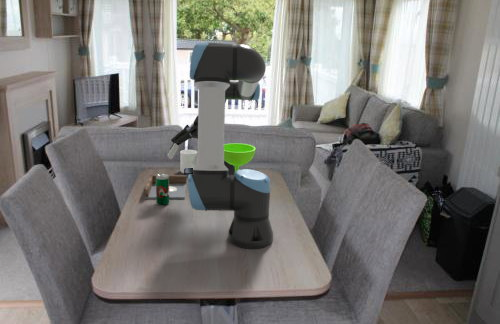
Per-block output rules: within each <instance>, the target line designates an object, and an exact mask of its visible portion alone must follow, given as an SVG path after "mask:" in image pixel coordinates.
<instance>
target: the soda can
mask: <svg viewBox="0 0 500 324" xmlns="http://www.w3.org/2000/svg"><path fill="white" fill-rule="evenodd" d="M156 175H157V177H156V199H155V200H156V204H157V205H158V206H167V205H169V203H170V199H169V177H168V175H169V174H167V173H157V174H156Z"/></svg>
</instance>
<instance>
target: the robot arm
mask: <svg viewBox="0 0 500 324" xmlns="http://www.w3.org/2000/svg"><path fill="white" fill-rule="evenodd" d="M266 68H267V67H266V62H265V59H264V58H263V56H262V55H261V53H259V52H258V51H257V50H255V49H254V48H252V46H250V45H246V44H242V43H223V42H221V43H220V42H198V43H196V44H195V45H194V46H193V49H192V52H191V58H190V65H189V79H190V80H192V81H193V86H195V87H196V89H197V90H198V108H197V109H198V111H197V112H198V113H197V115H196V117H195V119H194V120H193V123H192V126H190V125H189V124H186V125H185V126H184V128H182V129H181V130H180V131H179V132H178V133H177V134H176V135H174V136H173V137H171V139H170V142H172V144H171V146H170V149H169V151H168V153H167V155H166V157H168V159H169V160H172V159H173V157H174V156H175V154H176V153H177V151H178V149H179V147H180V146H179V145H182V144H183V143H184V142H187V141H188V140H190V139H197V150H196V151H197V153H196V155H195V157H194V158H193V160H192V163H193V164H194V165H195V167H194V168H193V174H187V187H188V195H189V196H188V197H189V204H190V206H191V208H192V209H193V210H195V211H205V212H207V211H228V212H229V211H233V218H232V221H231V223H230V227H229V228H228V233H227V236H228V238H227V240H228V241H229V243H231V244H232V245H233V246H235V247H238V248H241V249H242V248H243V249H248V250H249V249H250V250H251V249H252V250H254V249H255V250H256V249H262V248H265V247H268V246H270V245H271V244H272V243H273V240H274V232H273V228H272V225H271V221H270V197H271V192H272V190H271V180H270V177H269V176H268V175H267V174H265V173H263V172H261V171H257V170H255V169H249V168H248V169H247V168H242V169H239V170H237V171H236V172H235V171H234V174H229V168H228V167H227V166H226V165H225V160H224V145H225V126H226V125H225V118H226V116H225V114H226V113H225V112H226V102H227V100H229V101H230V100H232V101H237V100H238V101H239V100H240V101H251V102H252V101H258V100H259V99H260V94H261V84H260V83H259V82H260V81H261V80H262V79H263V78H264V76H265V74H266V70H267V69H266Z"/></svg>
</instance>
